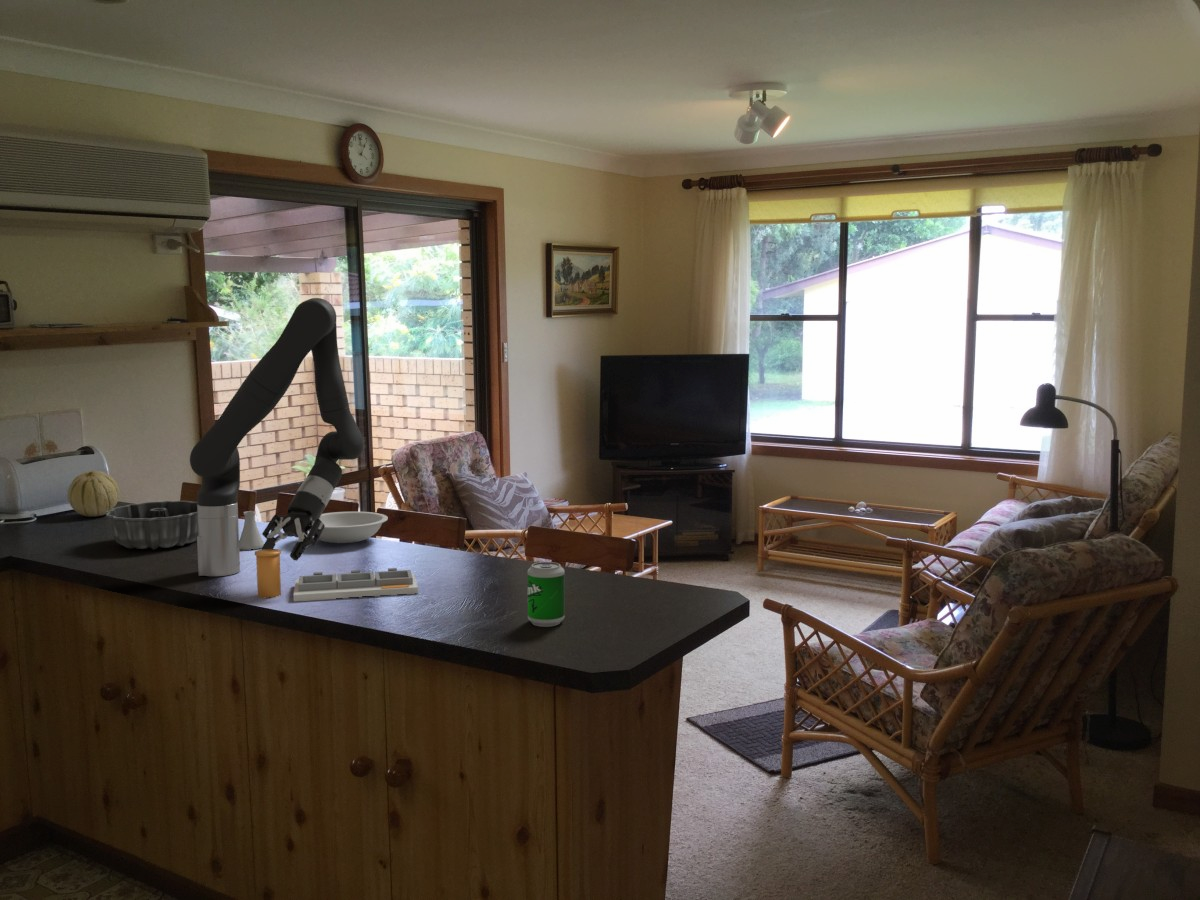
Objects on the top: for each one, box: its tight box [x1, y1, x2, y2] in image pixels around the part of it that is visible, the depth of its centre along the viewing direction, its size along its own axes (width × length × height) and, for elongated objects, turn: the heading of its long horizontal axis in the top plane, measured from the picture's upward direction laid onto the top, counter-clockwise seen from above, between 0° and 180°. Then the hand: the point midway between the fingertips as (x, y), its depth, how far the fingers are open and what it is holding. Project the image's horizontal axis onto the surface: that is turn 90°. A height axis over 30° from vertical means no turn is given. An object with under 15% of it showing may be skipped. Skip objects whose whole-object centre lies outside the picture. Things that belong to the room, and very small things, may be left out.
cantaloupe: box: [67, 470, 120, 518], centre depth 315 cm, size 15×15×15 cm
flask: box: [239, 510, 265, 551], centre depth 270 cm, size 7×7×10 cm
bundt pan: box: [105, 500, 198, 551], centre depth 275 cm, size 26×26×10 cm
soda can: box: [527, 561, 566, 628], centre depth 201 cm, size 8×8×12 cm
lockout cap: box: [254, 548, 282, 599], centre depth 222 cm, size 6×6×10 cm
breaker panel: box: [293, 567, 419, 602], centre depth 227 cm, size 27×14×3 cm, turn 105°
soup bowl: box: [308, 511, 389, 544], centre depth 279 cm, size 24×24×7 cm
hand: (278, 556), depth 224 cm, fingers open, 8 cm apart
